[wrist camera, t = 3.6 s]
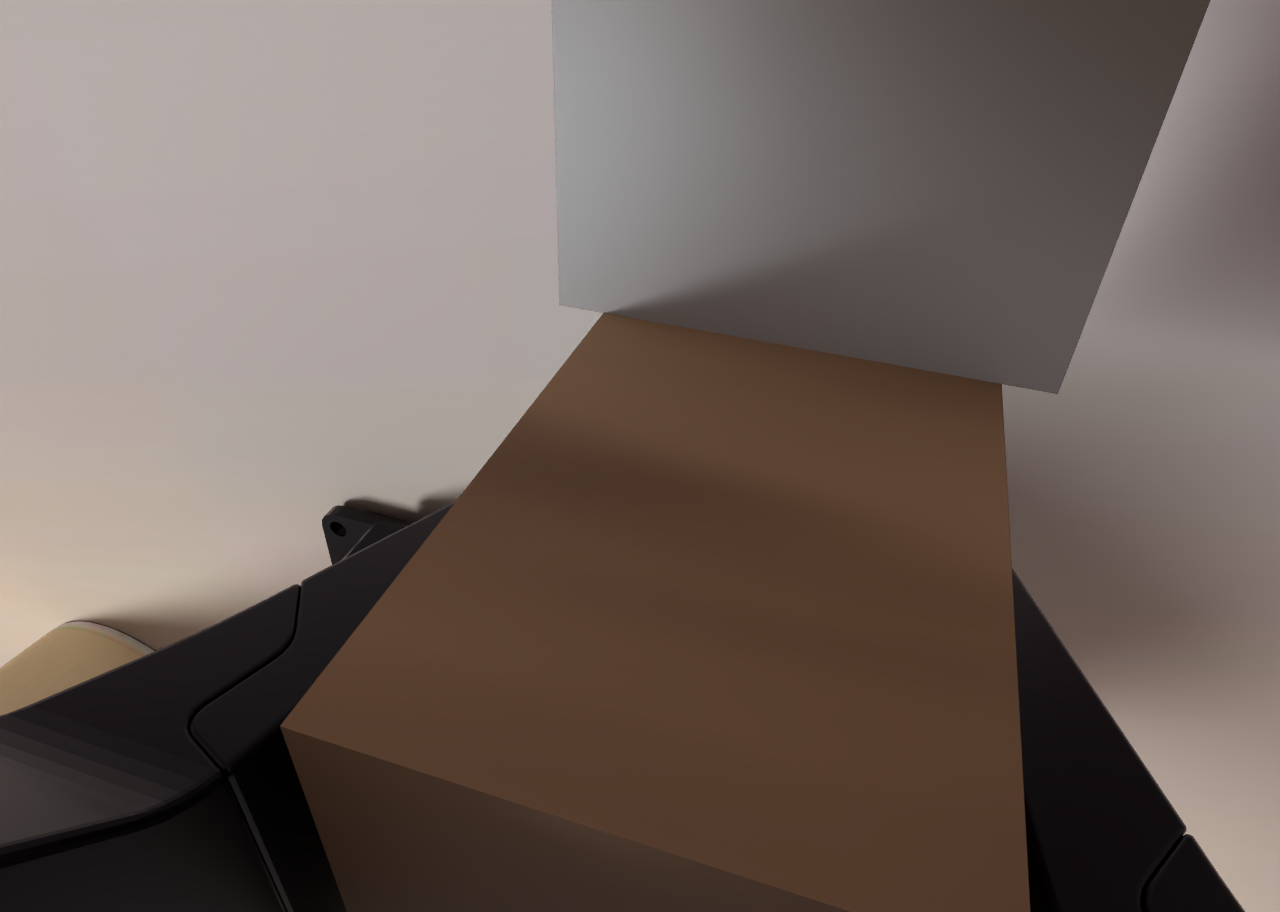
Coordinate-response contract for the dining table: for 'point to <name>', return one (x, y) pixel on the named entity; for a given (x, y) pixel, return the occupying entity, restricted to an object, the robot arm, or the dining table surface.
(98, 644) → the coffee cup
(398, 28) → the dining table surface
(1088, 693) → the robot arm
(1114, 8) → the bracket
